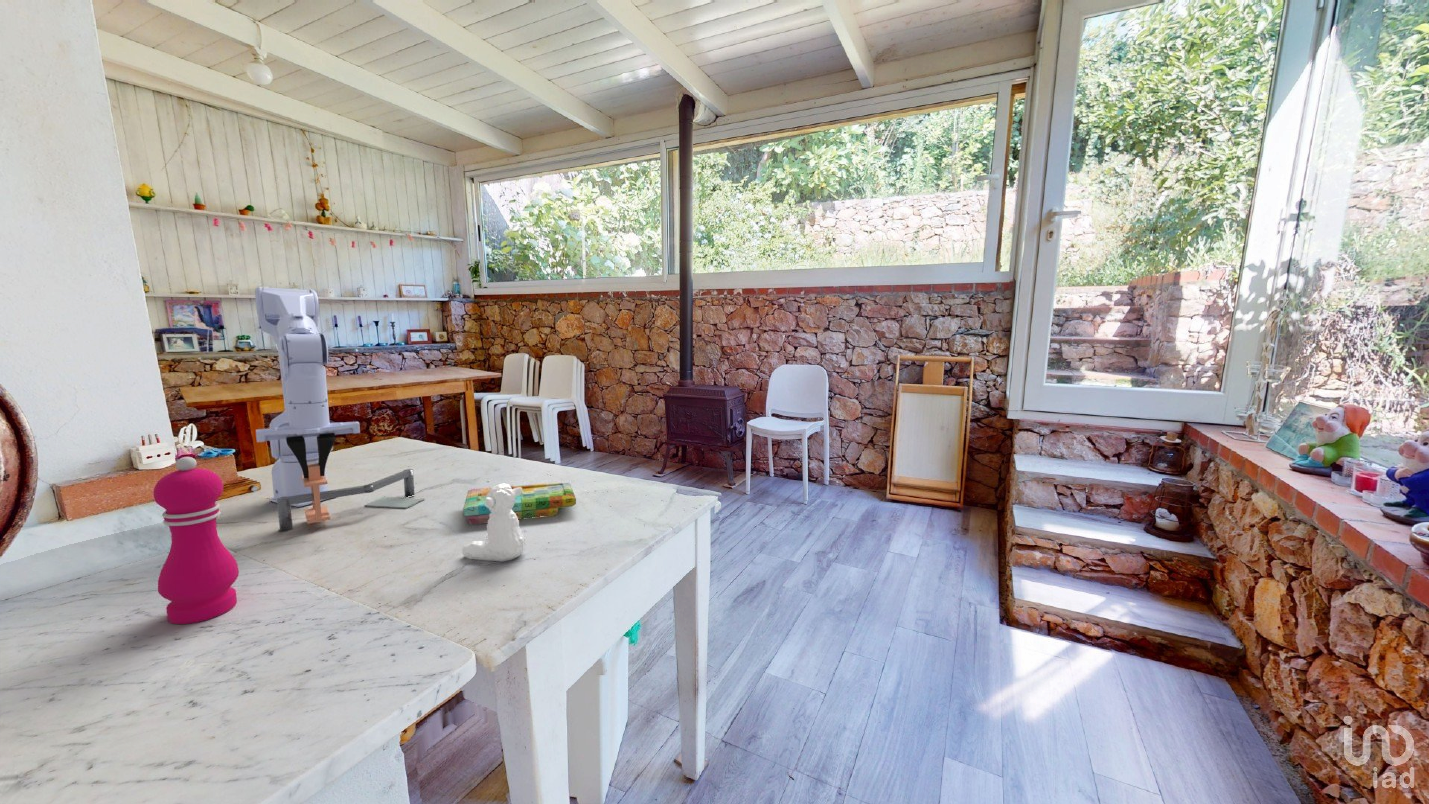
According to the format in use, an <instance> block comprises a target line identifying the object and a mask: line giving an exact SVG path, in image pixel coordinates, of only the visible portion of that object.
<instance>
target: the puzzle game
mask: <svg viewBox="0 0 1429 804" xmlns="http://www.w3.org/2000/svg"><path fill="white" fill-rule="evenodd" d="M510 486H511V488H512V489H514V488H518V487H521V488H522V493H521V495H520V496H517V497H515V504H514V506H513V508H511V509H512V511H513V512H514V513H515V514H516V516H517V518H518V519H519V520H525V519H524V518H529V519H533V518H532V517H539V518H541V517H540V516H548V517H554V516H553V515H555V516H556V515H557V514H559V513H558V512H559V508H569V507H574V506H575V505H577V498H576V495H575V493H574V491H573V488H572V485H571V482H566V481H565V482H555V483H554V482H553V483H552V482H551V483H540V484H527V485H526V484H525V485H524V484H523V485H510ZM491 489H492V487H480V488H471V489H470V490H467V494H466V498H465V501H464V505H463V509H462V515H463V517H464V518H465V519H466V520H467V521H468V522H469V523H470V525H479V524H488V520H489V514H490V513H491V511H490V510H489V508H487V507H485V502H486V496H487V494H488V493H489V492H490V491H491Z"/></svg>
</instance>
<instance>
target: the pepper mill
mask: <svg viewBox="0 0 1429 804" xmlns="http://www.w3.org/2000/svg"><path fill="white" fill-rule="evenodd" d="M175 463H176V464H175V467H176V468H177V470H174V471H173V472H172V471H171V472H169V473H167V474H166V475H164V476H163V477H161V478H160V479H159V480H158V481H157V482H156V483H155V486H154V487H153V494H152V495H153V496H152V497H153V499H154V501H155V503H156V504H157V505H158V506H159V507H161V508H163V509H164V510H165V511H163V513H161V516H162V517H163V521H162V523H163V524H164V525H165V526H167V527H169V531H170V538H171V539H170V541H171V543H170V548H169V549H170V550H169V552H168V554H167V557H166V559H165V561H164V563H163V565H162V568H161V569H160V572H159V576H158V579H157V592H158V594H159V595H160V596H161V597H162V598H164V599H165V600H168V601H170V602H169V603H168V604H167V605H166V608H165V609H166V619H167V621H168V622H169V623H171V624H172V625H173V624H174V625H187V624H188V625H189V624H194V623H195V624H196V623H199V622H204V621H207V620H210V619H212V618H216V617H218V616H221V615H223V614H225V613H227V612H229V611H230V610H232V609H233V608H234V607H235V606H236V605H237V602H238V598H237V597H238V596H237V590H236V589H235V588H234V587H232V586H233V585H234V584H235V582H236V581H237V579H238V577H239V574H240V569H239V565H238V562H237V560H236V558H235V557H234V556H233V554H232V553H231V551H229V550H228V549H227V547H226V546H225V545H224V544H223V542H222V541H221V539H220V537H219V534H218V528H217V518H218V517H220V515H221V513H222V512H221V511H220V507H221V505H220V503H217V500H218V499H219V498H220V497H221V495H222V494H223V492H224V483H223V479H222V478H221V477H220V476H219V474H217V473H216V472H214V471H213V470H210V469H206V468H201V467H200V468H197V464H198V463H197V460H196V458H193V457H192V456H191V457H190V456H184V457H181V458H179V459H177V461H176V462H175Z"/></svg>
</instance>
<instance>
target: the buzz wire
mask: <svg viewBox="0 0 1429 804" xmlns="http://www.w3.org/2000/svg"><path fill="white" fill-rule="evenodd" d="M401 480H403V486H404V487H403V489H404V497H405V496H406V497H408V496H412V495H415V482H414V481H415V480H414V469H411V468H408V469H407V468H406V469H403V470H402V471H399V472H397V473H395V474H392V475H389V476H386V477H385V478H381V479H379V480H377V481H373V482H371V483H368V484H364V485H358V486H353V487H345V488H337V489H331V490H328V491H323V492H320V500H322V501H325V500H324V499H326V500H330V499H336V498H342V497H348V496H356V495H363V494H370V493H373V492H375V491H377V490H379V489H383V488H385V487H387V486H390V485H391V484H394V483H397V482H399V481H401ZM406 497H405V498H406ZM311 501H314V493H309V494H303V495H296V496H289V497H280V498H277V503H276V504H277V506H276V507H277V516H278V517H277V518H278V525H279V528H278V529H279V532H282V533H284V532H285V533H286V532H288V531H292V530H293V529H294V527H293V517H292V516H293V515H292V514H293V513H292V506H291V505H292V504H298V503H304V502H311Z"/></svg>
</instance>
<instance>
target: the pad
mask: <svg viewBox="0 0 1429 804" xmlns="http://www.w3.org/2000/svg"><path fill="white" fill-rule="evenodd" d="M415 498H416V497H410V498H406V497H405V496H404V497H403V496H402V497H401V496H400V497H399V496H382V497H380V498H378V499H375V500H373V501H370V502H368V503H366V504H364V508H365V507H366V508H368V507H369V508H383V507H390V508H389V509H402V508H403V510H407V509H409V508H411V507H413V506H415V505H417V504H418V503H417V502H419V501H421V502H423V501H424V500H423V499H424V498H422V497H421V498H420V497H419V498H420V499H415ZM422 500H423V501H422ZM416 503H417V504H416ZM419 503H420V502H419ZM414 504H415V505H414ZM412 505H413V506H412ZM408 507H409V508H408Z"/></svg>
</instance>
